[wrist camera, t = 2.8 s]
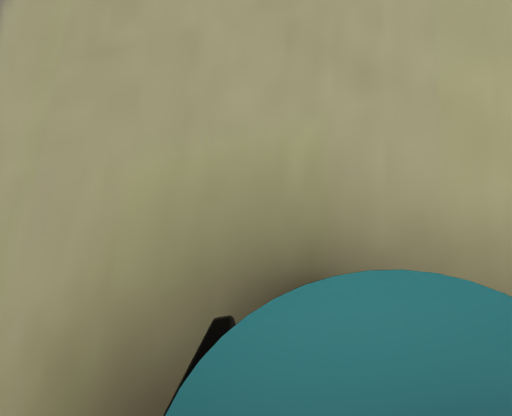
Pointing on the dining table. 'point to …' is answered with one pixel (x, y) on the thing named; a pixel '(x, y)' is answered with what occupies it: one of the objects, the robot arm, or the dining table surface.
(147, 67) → the dining table surface
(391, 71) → the dining table surface
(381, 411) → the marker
